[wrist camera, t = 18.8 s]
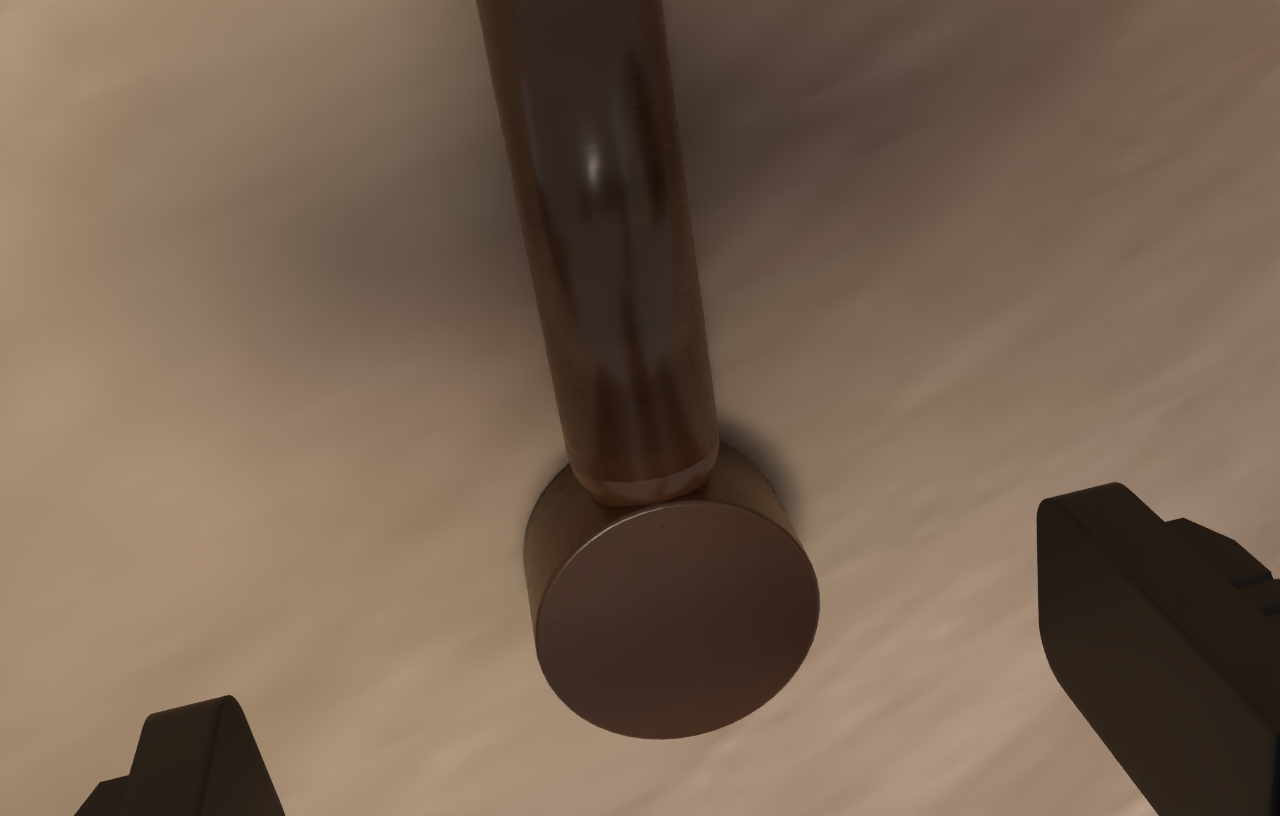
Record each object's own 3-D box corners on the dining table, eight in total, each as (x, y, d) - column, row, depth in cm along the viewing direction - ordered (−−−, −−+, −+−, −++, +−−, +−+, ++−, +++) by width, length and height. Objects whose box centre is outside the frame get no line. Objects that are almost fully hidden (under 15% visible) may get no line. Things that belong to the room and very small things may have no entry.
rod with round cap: (345, -205, 17) (334, -205, 15) (694, -263, 17) (737, -272, 15) (549, 676, 24) (563, 767, 22) (793, 621, 25) (831, 706, 22)
